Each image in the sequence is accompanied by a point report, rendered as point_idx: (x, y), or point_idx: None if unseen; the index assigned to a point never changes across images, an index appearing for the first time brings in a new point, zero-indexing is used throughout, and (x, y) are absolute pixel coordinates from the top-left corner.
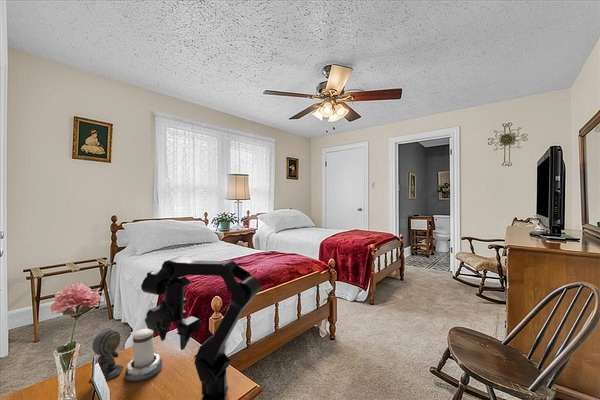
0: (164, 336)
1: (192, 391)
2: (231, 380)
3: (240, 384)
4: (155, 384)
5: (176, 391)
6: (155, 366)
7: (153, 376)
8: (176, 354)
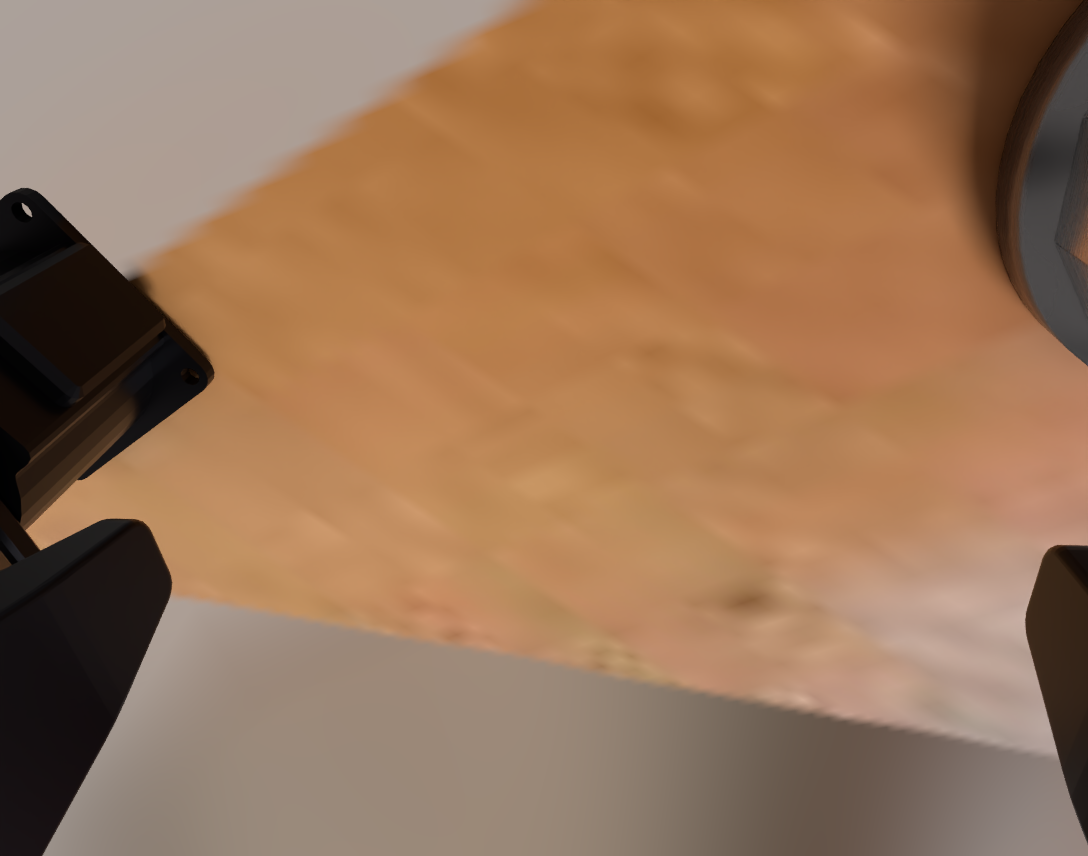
0: (1076, 713)
1: (275, 236)
2: None
3: None
4: (825, 56)
5: (434, 131)
6: (1080, 237)
7: (1006, 146)
8: None
